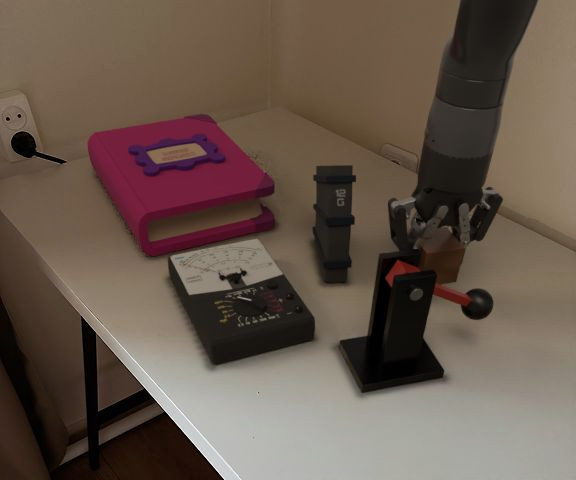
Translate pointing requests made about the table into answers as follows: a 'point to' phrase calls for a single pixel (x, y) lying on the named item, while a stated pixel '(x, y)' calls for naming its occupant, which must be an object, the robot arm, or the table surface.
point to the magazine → (333, 220)
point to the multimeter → (239, 300)
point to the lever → (453, 294)
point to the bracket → (395, 329)
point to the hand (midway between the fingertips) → (430, 271)
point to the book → (181, 183)
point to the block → (442, 255)
